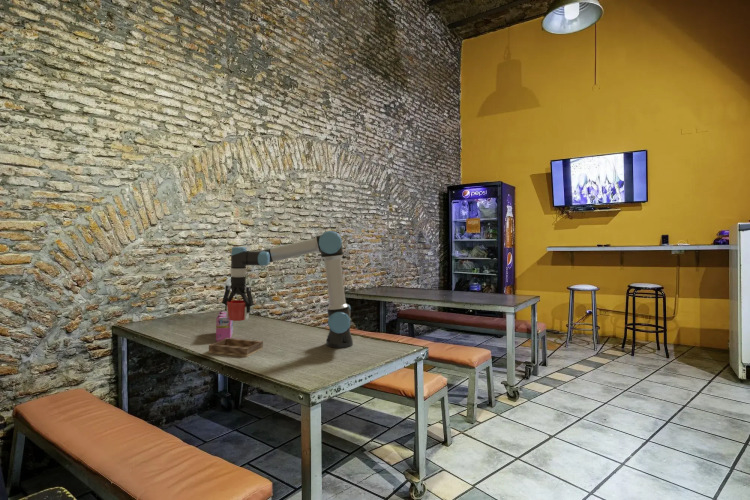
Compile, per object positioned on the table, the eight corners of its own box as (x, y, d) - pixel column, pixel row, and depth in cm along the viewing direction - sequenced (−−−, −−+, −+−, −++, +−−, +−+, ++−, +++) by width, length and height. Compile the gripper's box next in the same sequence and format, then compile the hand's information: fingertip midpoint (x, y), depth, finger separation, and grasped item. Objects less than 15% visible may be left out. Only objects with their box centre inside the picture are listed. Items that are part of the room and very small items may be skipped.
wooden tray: (262, 348, 226) (263, 341, 226) (246, 356, 211) (246, 348, 210) (227, 345, 232) (227, 337, 231) (208, 352, 216) (208, 345, 216)
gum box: (220, 331, 262) (220, 310, 262) (233, 331, 264) (233, 310, 264) (215, 341, 239) (215, 317, 238) (230, 341, 241) (230, 317, 240)
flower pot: (242, 316, 229) (242, 299, 229) (251, 320, 221) (251, 301, 221) (223, 319, 222) (223, 300, 221) (232, 322, 214) (232, 303, 213)
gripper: (261, 276, 221) (260, 318, 222) (223, 274, 227) (223, 315, 228) (253, 278, 214) (252, 321, 215) (215, 275, 220) (214, 317, 221)
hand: (237, 318), depth 221 cm, fingers closed on flower pot, 10 cm apart
